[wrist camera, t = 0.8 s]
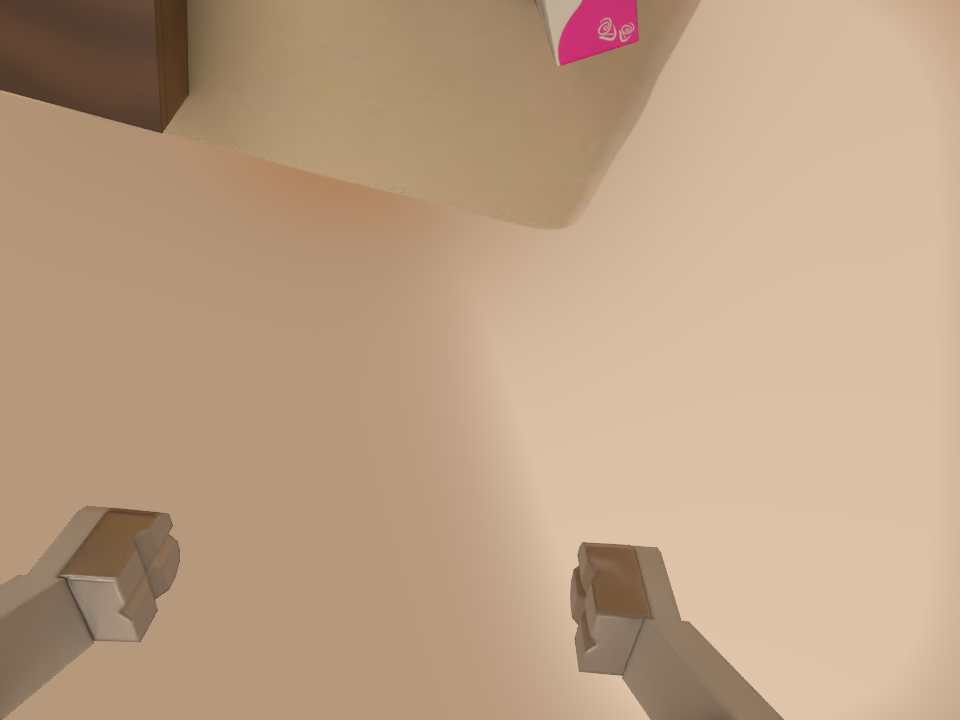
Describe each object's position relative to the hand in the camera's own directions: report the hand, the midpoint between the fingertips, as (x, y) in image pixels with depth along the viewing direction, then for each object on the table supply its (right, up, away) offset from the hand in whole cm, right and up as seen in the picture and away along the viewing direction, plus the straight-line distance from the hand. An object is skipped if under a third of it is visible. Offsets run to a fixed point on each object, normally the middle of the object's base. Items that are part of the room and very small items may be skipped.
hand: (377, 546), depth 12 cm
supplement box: (+9, +34, +33) cm, 48 cm away
